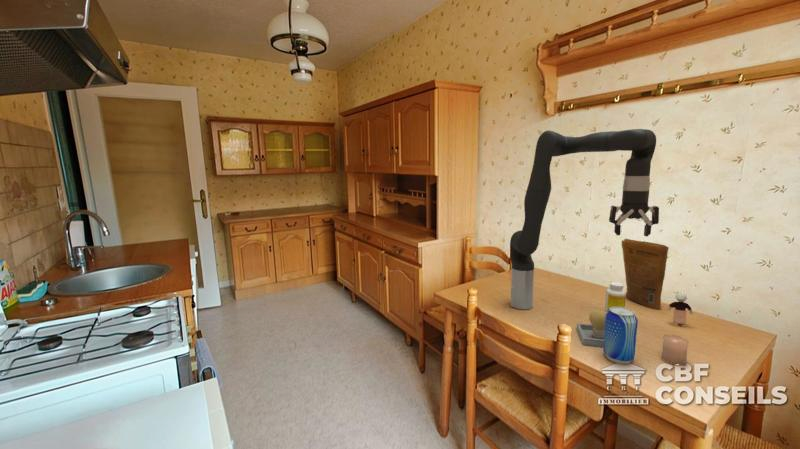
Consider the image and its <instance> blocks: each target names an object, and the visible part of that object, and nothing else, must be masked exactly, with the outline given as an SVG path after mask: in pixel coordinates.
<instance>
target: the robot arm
mask: <svg viewBox="0 0 800 449" xmlns="http://www.w3.org/2000/svg"><path fill="white" fill-rule="evenodd" d="M656 147H657V135H656V134H655V133H654V131H653V130H650V129H645V128H644V129H643V128H633V129H631V128H630V129H626V130H625V129H624V130H620V131H618V130H617V131H615V130H613V131H612V130H611V131H599V132H594V133H589V134H586V135H582V136H566V135H562V134H560V133H558V132H555V131H554V130H546V131H544V132H542V133H541V134H540V135H539V137H538V139H537V142H536V145H535V151H534V152H535V153H534V159H533V164H532V169H531V172H530V177H529V181H528V185H527V188H526V191H525V196H524V203H523V208H524V221H523V222H524V223H523V225H522V226H523V227H522V229H521V230H517V231H515V232H513V234H512V235H511V237H510V240H509V241H510V242H509V260H510V263H511V273H510V274H511V278H510V280H511V281H510V308H514V309H518V310H525V311H526V310H530V309H533V305H534V285H535V284H534V280H535V279H534V277H535V262H534V260H533V258H532V255H533V254H534V253H535V252H536V250H538V246H539V242H540V237H541V231H542V224H543V220H544V217H545V213H546V209H547V206H548V203H549V200H550V197H551V191H552V179H551V164H552V159H553V157H562V156H565V155H570V154H576V153H577V154H579V153H601V152H603V153H606V152H618V151H629V152H630V151H631V155H630V157H629V159H627V161H626V163H625V170H624V179H623V184H622V195H621V205H620V206H616V205H611V206H610V211H609V218H608V222H610V223H612V224H614V231H613V232H614V234H616V236H621V229H622V228H621V227H622V225H621V224H622V223H623V222H625V221H626V220H627V219H629V220H633V219H636V220H639V219H641V220H642V221H643V222H644V223H645V224H644V226H643V227H644V229H643V235H644V237H649V236H650V235H651V233H652V226H653V225H658V224H660V223H659V221H660V220H659V219H660V218H659V217H660V207H659V206H656V205H653V206H649V198H650V188H651V176H650V175H651V163H652V160H653V157H654V153H655V150H656ZM619 211H620V212H621V214H620V215H619V216H618V217H617V213H618V212H619ZM648 212H650V213H651V220H650V218H649V217H648V215H647V213H648ZM616 217H617V219H616Z"/></svg>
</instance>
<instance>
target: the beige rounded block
mask: <svg viewBox="0 0 800 449" xmlns="http://www.w3.org/2000/svg"><path fill="white" fill-rule="evenodd" d="M688 349H689V340H688V339H686V338H684V337H682V336H679V335H675V334H664V335H663V341H662V350H661V359H662V360H663V361H664V362H666V363H668V364H671V363H672V365H674V364H679V365H678V366H685V365H686V363H687V359H688V358H687V357H688ZM684 364H685V365H684Z"/></svg>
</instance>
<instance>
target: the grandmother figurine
mask: <svg viewBox="0 0 800 449" xmlns="http://www.w3.org/2000/svg"><path fill="white" fill-rule="evenodd" d="M675 299H676V300H677V301H673V302H671V303H669V304H668V307H666V310H667V311H671V309H673V308H674V310H673V317H672V319H673V321H672V323H671V324H672V325H673V326H674V327H675V326H676V327H679V326H681V327H684V328H687V327H688V324H687V311H688V312H689V314H690V315H693V314H694V311H693V309H692V307H691V306H690V305H689V304H688V303H687V302H685V301H686V300H687V299H688V297H687V294H686V293H685V292H678V293H676V295H675Z"/></svg>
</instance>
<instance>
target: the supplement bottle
mask: <svg viewBox="0 0 800 449" xmlns="http://www.w3.org/2000/svg"><path fill="white" fill-rule="evenodd" d="M605 292H606V293H605V307H604V311H605V312H607V313H608V312H609V311H610V308H611V307H624V308H626V307H625V305H626V292H625V290H624V284H623V283H621V282H613V281H612V282H610V283H609V287H608V288H607V289H606V291H605Z"/></svg>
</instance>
